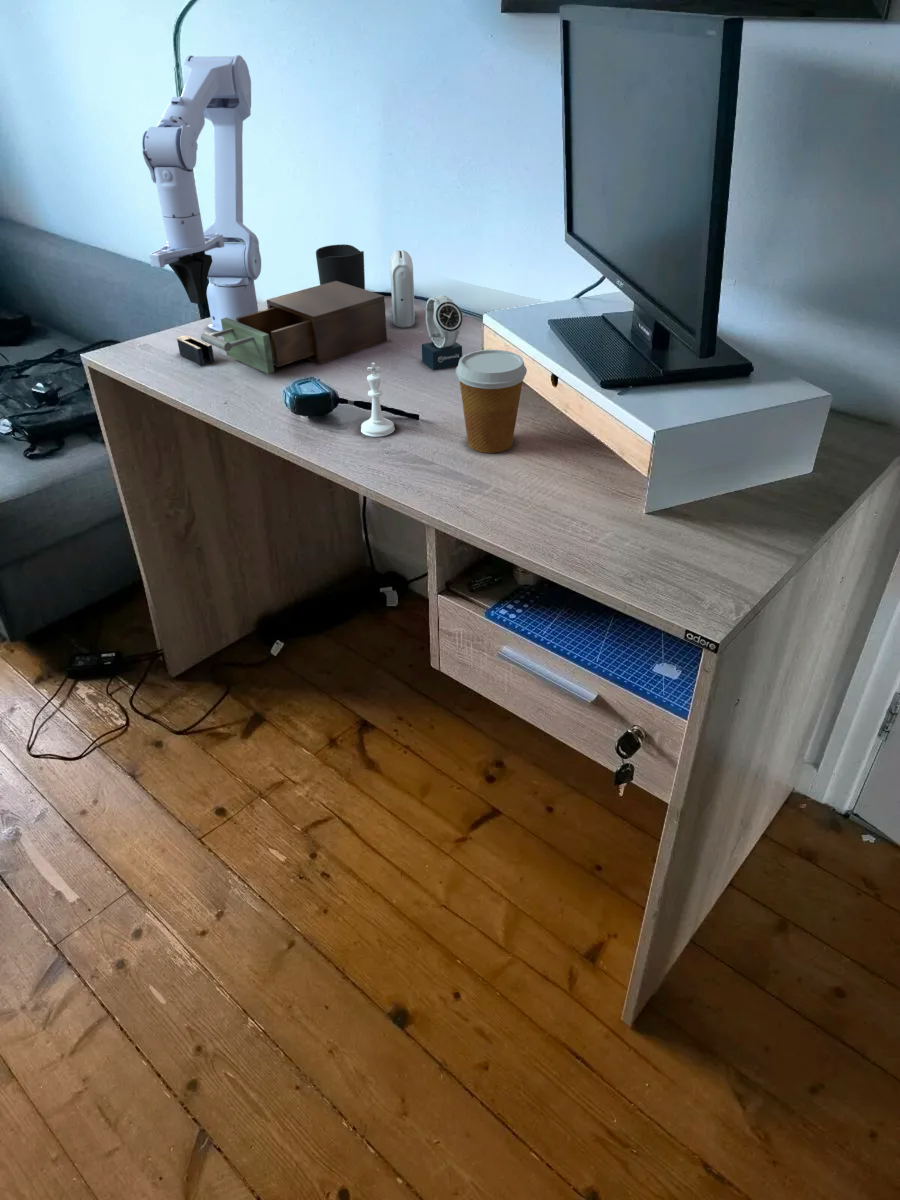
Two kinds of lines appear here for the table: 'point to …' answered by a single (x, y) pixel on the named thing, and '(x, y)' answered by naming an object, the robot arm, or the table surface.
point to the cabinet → (338, 317)
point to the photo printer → (402, 289)
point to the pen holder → (341, 265)
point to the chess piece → (376, 409)
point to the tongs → (195, 350)
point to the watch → (442, 333)
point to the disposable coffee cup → (490, 397)
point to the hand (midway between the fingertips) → (197, 302)
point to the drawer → (265, 338)
